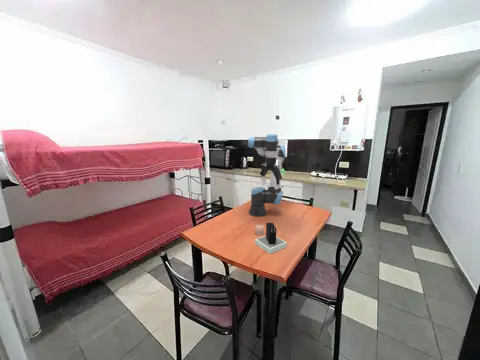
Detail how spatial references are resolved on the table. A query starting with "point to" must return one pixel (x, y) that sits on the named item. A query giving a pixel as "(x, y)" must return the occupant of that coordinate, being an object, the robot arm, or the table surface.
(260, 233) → the pale pink rounded piece
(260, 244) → the stand
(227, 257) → the table surface
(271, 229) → the electronic device
